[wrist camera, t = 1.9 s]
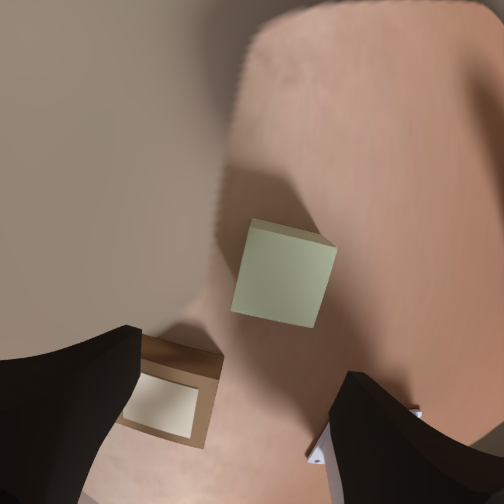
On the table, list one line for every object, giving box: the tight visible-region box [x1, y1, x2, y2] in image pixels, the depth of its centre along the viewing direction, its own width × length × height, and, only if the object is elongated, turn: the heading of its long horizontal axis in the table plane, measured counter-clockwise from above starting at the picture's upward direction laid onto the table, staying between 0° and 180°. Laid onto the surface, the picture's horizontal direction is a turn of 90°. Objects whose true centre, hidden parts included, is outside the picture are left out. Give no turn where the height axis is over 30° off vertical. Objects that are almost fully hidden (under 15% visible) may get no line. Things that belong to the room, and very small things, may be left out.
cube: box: [230, 218, 338, 328], centre depth 17 cm, size 4×4×4 cm
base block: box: [116, 334, 224, 449], centre depth 20 cm, size 8×8×3 cm
